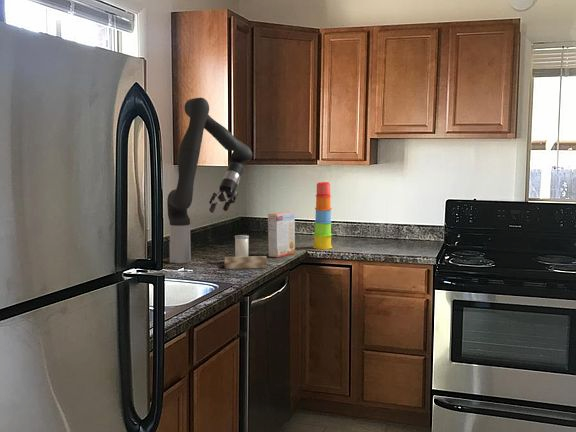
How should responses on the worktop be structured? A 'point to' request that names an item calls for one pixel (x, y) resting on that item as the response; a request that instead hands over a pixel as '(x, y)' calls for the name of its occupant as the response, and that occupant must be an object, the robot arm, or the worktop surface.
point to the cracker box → (281, 234)
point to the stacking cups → (323, 217)
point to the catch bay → (246, 262)
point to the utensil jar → (241, 245)
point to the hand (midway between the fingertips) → (217, 211)
